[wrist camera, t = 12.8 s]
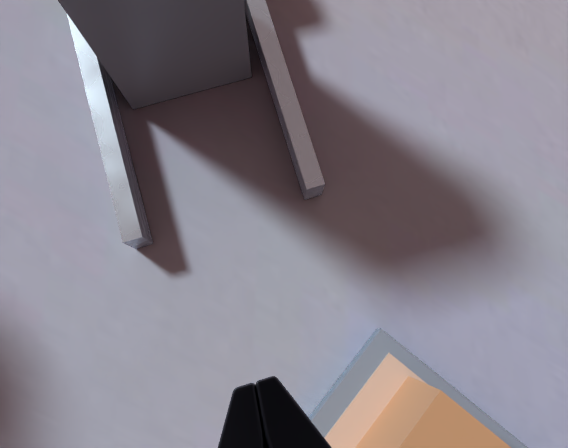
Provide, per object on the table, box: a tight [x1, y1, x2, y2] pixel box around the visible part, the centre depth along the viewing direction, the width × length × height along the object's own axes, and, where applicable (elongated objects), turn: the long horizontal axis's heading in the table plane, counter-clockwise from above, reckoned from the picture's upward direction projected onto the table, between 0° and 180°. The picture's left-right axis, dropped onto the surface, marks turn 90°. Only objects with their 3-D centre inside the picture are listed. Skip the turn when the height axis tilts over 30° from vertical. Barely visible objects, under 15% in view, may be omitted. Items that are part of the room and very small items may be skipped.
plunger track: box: [67, 0, 325, 249], centre depth 19 cm, size 11×8×4 cm
